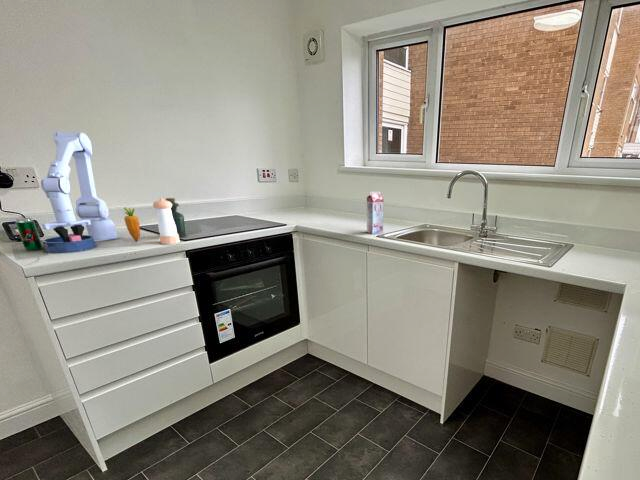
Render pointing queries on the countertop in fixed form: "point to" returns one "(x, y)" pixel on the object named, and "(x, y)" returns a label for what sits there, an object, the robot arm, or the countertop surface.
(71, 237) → the eraser
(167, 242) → the pepper shaker
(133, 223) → the carrot
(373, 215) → the juice carton
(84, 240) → the bowl
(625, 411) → the countertop surface
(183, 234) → the green spray bottle
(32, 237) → the soda can
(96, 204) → the robot arm
